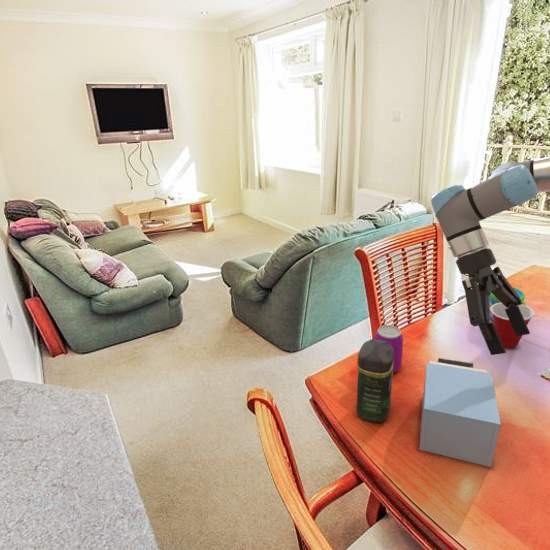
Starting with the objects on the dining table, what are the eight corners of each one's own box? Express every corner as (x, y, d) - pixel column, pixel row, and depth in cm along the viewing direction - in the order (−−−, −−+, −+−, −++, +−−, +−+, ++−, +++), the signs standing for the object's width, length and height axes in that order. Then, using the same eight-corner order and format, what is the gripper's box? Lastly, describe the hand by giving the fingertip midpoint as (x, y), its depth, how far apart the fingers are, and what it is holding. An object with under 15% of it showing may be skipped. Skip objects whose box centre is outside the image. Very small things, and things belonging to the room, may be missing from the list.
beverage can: (406, 364, 108) (409, 329, 103) (392, 378, 103) (395, 342, 98) (382, 354, 113) (383, 320, 108) (368, 367, 108) (369, 332, 103)
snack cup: (533, 328, 120) (540, 300, 115) (503, 333, 118) (509, 305, 114) (498, 305, 134) (503, 280, 130) (471, 310, 132) (475, 284, 128)
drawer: (426, 377, 101) (429, 347, 97) (478, 386, 96) (484, 355, 92) (423, 435, 84) (427, 401, 80) (486, 450, 79) (494, 414, 75)
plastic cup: (484, 331, 120) (490, 298, 115) (523, 337, 116) (531, 303, 111) (484, 350, 112) (491, 315, 107) (527, 357, 107) (536, 321, 102)
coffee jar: (386, 427, 88) (390, 363, 80) (353, 418, 91) (354, 356, 84) (393, 400, 96) (397, 339, 88) (362, 392, 99) (363, 333, 92)
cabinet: (422, 400, 95) (426, 362, 90) (483, 412, 90) (491, 373, 85) (419, 449, 82) (424, 408, 77) (491, 467, 77) (500, 424, 72)
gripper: (480, 250, 94) (515, 330, 91) (428, 268, 79) (468, 365, 76) (511, 239, 88) (549, 324, 85) (461, 256, 73) (506, 360, 70)
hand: (511, 343), depth 81 cm, fingers open, 13 cm apart
